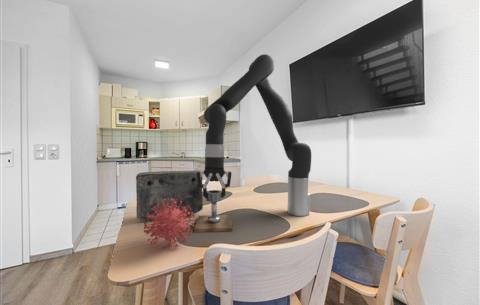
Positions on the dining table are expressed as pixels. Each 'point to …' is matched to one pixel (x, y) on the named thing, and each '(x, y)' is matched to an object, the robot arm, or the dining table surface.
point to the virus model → (169, 223)
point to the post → (214, 214)
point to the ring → (214, 195)
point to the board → (205, 226)
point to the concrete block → (167, 191)
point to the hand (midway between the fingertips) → (214, 197)
